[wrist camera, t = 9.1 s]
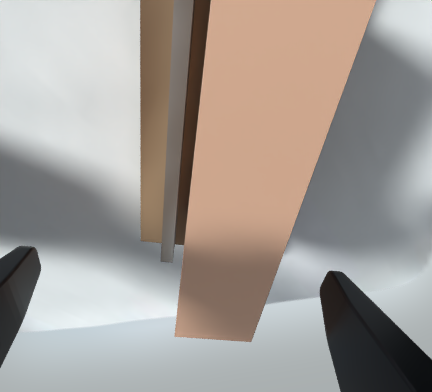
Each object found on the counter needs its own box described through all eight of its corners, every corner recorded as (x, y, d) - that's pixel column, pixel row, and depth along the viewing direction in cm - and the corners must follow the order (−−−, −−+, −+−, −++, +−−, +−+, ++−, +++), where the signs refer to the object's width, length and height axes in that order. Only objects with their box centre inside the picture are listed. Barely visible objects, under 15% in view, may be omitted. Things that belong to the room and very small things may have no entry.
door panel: (187, 214, 22) (174, 336, 15) (214, -34, 14) (215, -31, 7) (239, 219, 22) (250, 341, 15) (294, -20, 14) (377, -4, 7)
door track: (143, 230, 25) (135, 259, 22) (145, -137, 13) (130, -161, 11) (271, 242, 25) (277, 271, 23) (379, -93, 14) (415, -105, 11)
